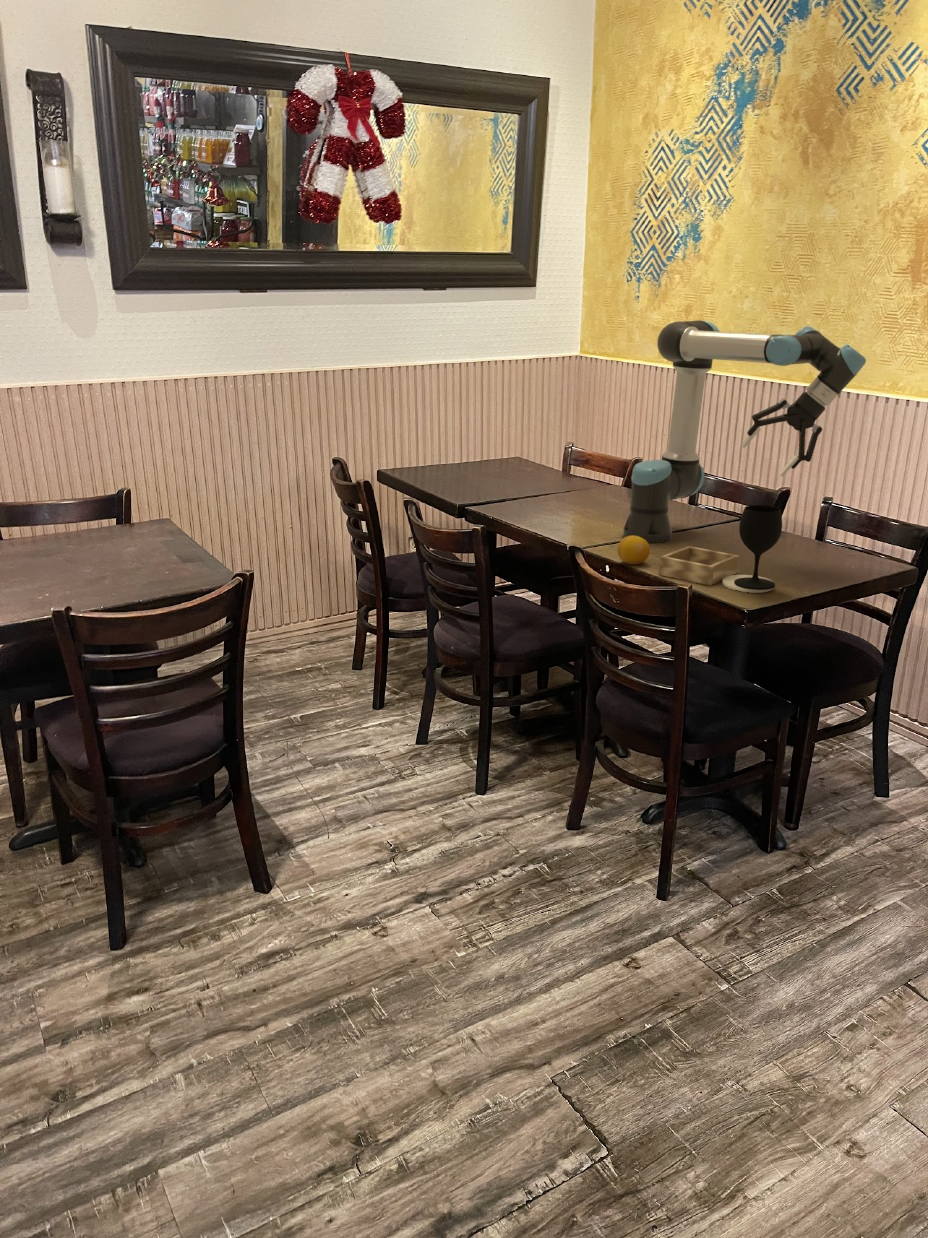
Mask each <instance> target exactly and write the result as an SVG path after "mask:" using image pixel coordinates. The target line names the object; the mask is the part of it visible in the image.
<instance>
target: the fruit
mask: <svg viewBox="0 0 928 1238" xmlns="http://www.w3.org/2000/svg"><path fill="white" fill-rule="evenodd" d="M650 551H651V550H650V544H649V543H647V541H646V540H644V539H643V538H641V537H639V536H627V537H625V538H624V537H623V538H622V539H620V541H619V543H618V546H617V554H618V557H619V559H620V560H621V562H624V563H626V564H629V565H640V564H642V563H644V562H645V561H646V560H647V559H648V557H649V555H650Z"/></svg>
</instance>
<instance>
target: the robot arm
mask: <svg viewBox="0 0 928 1238" xmlns="http://www.w3.org/2000/svg"><path fill="white" fill-rule="evenodd" d="M656 342H657V349H658V352H659V355H661V357H662V358H663V359H665V360H666V361H667V362H670V363H671V362H672V367H673V368H674V369H675V371H676V377H675V386H674V395H673V401H672V410H671V411H672V413H671V419H670V428H669V429H670V430H669V436H668V437H669V438H668V445H667V449H666V450H665V451H664V452H663V453H662V455H661V459H651V460H643V461H641V462H640V461H639V462H638V463H636V464H635V465H634V466H633V468H632V474H631V485H630V486H631V487H630V504H629V506H630V509H629V514H628V516H627V519H626V522H625V525H624V527H623V530H622V537H623V538H625V537H627V536H639V537H641V538H643V539H644V540H646V541H647V543H648V544H649V543H650V544H651V543H664V542H669V541H671V540H672V539H673V529H672V524H671V521H670V518H669V504H670V503H669V502H670V501H673V500H678V499H686V498H688V497H691V496H692V495H695V494H696V493H697V492H698V491H700V489H701V488H702V486H703V484H704V480H705V471H704V468H702V465H701V463H700V455H698V453H697V451H696V449H697V443H698V434H699V427H700V420H701V411H702V406H703V397H704V390H705V383H706V382H705V381H706V376H707V373H708V372H709V371H711V370H712V369H713V368H712V367H713V360H718V361H719V360H720V361H732V362H733V361H735V362H746V363H747V362H748V363H761V364H762V363H763V364H771V365H775V366H781V367H787V366H791V365H801V364H810V366H812V367H814V369H816V370H817V371H819V374H818V375H817V376H816V377H815V378H814V379H813V381H811V383H810V384H809V385H808V386H807V387H806V391H804V392H802V393H801V394H800V395H799V396H798V398H797V399H796V400H795V401H794V402H793V403H792V404H790V403H789V402H788V401H787V399H786V398H782V399H781V400H779V401H778V402H777V403H775V404H773V405H772V406H770V407H767V408H765V409H763V410H761V411H759V412H757V413H754V414H752V415H751V419H752V421H753V422H754V423H753V424H752V426H750V428H749V429H748V430H747V433H746V434H747V435H748V436H747V437H746V438H745V440H744V441H743V442H742V443H741V446H742V448H744V449H745V448H746V447H747V446H748V445H749V443H750V442H751V441H752V440H753V439H754V438H755V436H756V435H757V434H758V433H759V432H760V431H761V428H760V427H764V426H769V425H774V424H777V423H781V422H782V423H784V422H786V423H787V424H788V425H789V426H791V427H792V428H793V429H794V430H795V431H797V432H798V455H797V454H796V455H795V454H794V455H793V457H792V458H791V459H790V460H789V461H788V462H787V463H786V464H785V465H784V466H783V467H782V469H781V470H780V471H779V475H780V477H782V478H783V477H784V476H785V475H786V474H787V472H788V471H789V470H790V469H796V468H797V467H798V465H799V464H800V463H802V462H803V461H804V462H808V463H810V462H811V461H812V458H813V454H814V452H815V451H814V450H815V447H816V445H817V441H818V438H819V435H820V434H821V432H823V428H822V426H820V425H817V424H816V423H815V422H816V421H817V419H818V418H819V417H820V416H821V415H822V414H823V413H824V412H825V411H826V406H827V407H828V406H830V405H831V404H832V402H833V401H834V400H836V398H837V396H838V395H840V393H841V392H842V391H843V390H845V388H846V387H847V385H848V384H850V382H851V381H852V380H854V378H855V377H856V376H857V375H858V373H859V372H860V371H861V369H862V368H863V367H864V366H865V364H866V361H867V359H866V357H865V356H864V355H862V354H861V353H860V352H858V351H857V350H856V349H854V348H853V347H852V346H850V345H849V344H846V343H845V344H844V345H843V346H841V347H838V346H837V345H836V344H835V343H833V342H832V341H831V340H830V339H828V338H827V337H825V335H823V334H822V333H821V332H820V331H819V330H816V329H815V328H813V327H812V326H809V325H807V326H804V327H802V328H800V329H799V330H798V331H797V332H795V334H773V333H756V332H755V333H753V332H752V333H751V332H732V331H720V330H719V328H718V327H717V326H716V325H715V324H714V323H713V322H711V321H706V320H702V319H700V320H687V321H685V320H683V321H681V320H680V321H674V322H671V323H668V324H667V325H665V326H664V327H663V328H662V329H661V331H660V333H659V334H658V336H657V341H656ZM781 409H782V410H784V409H786V413H785V414H780V415H776V416H772V417H769V418H765V417H768V416H770V415H771V414H773V413H775V412H777V411H780V410H781ZM762 418H763V419H762ZM810 428H812V429H811V431H812V433H811V435H810V440H809V442H808V446H807V449H806V448H805V447H806V433H807V431H806V430H808V429H810ZM805 449H806V450H805ZM805 451H806V453H805Z"/></svg>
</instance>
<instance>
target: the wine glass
mask: <svg viewBox="0 0 928 1238" xmlns="http://www.w3.org/2000/svg"><path fill="white" fill-rule="evenodd" d="M781 511H782V510H781V509H780V508H779V507H776V506H771V505H766V504H765V505H763V504H760V505H759V504H755V505H754V504H753V505H752V504H751V505H747V506H744V508H743V510H742V514H741V516H740V520H739V526H738V527H739V529H738V530H739V537H740V539H741V541H742V543H743V545H745V547H746V548H747V549H748V550H749V551H751V553H753V555H754V569H753V574H752V575H753V577H746V578H739V579H736V580H735V581H734V584H735V585H737V586H739V587H742V588H746V589H753V590H768V589H772V588H773V589H774V588H775V587H776V583H775V582H774V581H773V580H771V579H769V580H766V579H762V578H758V576H759V564H760V559H761V556H762V555H763V554H764V553H766V552H768V551H769V550H771V549H772V548H773V547H774V546H775V545H776V544H777V543H778V541H779V540H780V537H781V536H782V530H783V517H782V512H781ZM770 580H771V581H770ZM772 581H773V582H772Z"/></svg>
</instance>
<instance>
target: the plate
mask: <svg viewBox="0 0 928 1238" xmlns="http://www.w3.org/2000/svg"><path fill="white" fill-rule="evenodd" d="M746 577H753V574H735V575H731V576H727V577H725V578H723V580H721V581H722V582H721V583H722V586H723V585H724V586H725V587H724V586H723V587H724V588H726V587H727V588H726V589H728V590H731V589H732V590H731V591H735V590H738V591H737V592H739V591H741V593H747V592H749V594H750V593H751V594H759V593H767V592H771V591H772V590H773V589H774V588H772V589H768V590H753V589H746V588H742V587H739V586H737V585H735V584H734V581H735V580H736V579H739V578H746ZM758 578H762V579H766V580H770V581H772V582H774V581H773V580H772V579H770V578H767V577H763V576H759V575H758Z"/></svg>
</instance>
